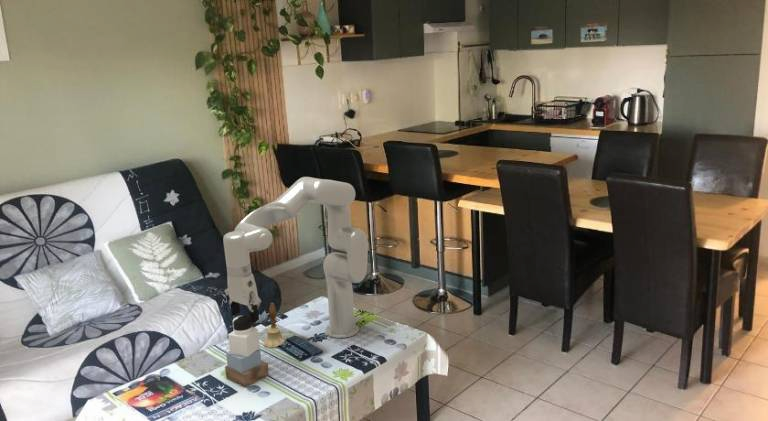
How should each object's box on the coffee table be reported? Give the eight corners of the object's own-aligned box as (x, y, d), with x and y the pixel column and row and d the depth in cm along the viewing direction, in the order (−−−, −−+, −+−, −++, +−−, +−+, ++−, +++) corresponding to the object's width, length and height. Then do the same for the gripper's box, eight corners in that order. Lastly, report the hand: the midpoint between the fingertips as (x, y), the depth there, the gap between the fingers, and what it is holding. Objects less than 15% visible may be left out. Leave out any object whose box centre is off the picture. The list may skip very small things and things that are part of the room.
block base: (249, 368, 228) (248, 354, 227) (268, 376, 222) (267, 363, 220) (226, 379, 220) (224, 366, 219) (245, 388, 214) (244, 375, 213)
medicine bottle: (260, 348, 220) (257, 314, 217) (247, 357, 214) (244, 323, 211) (242, 344, 223) (239, 312, 220) (229, 354, 217) (226, 320, 214)
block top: (247, 357, 225) (245, 343, 224) (261, 364, 220) (260, 350, 219) (227, 366, 219) (226, 352, 218) (241, 373, 214) (240, 359, 213)
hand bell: (270, 337, 250) (267, 298, 246) (289, 339, 248) (286, 300, 244) (259, 346, 243) (255, 306, 239) (279, 349, 240) (276, 309, 236)
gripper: (265, 270, 209) (271, 320, 214) (231, 261, 220) (237, 308, 225) (247, 278, 204) (253, 328, 208) (213, 268, 214) (219, 316, 219)
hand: (245, 318), depth 217 cm, fingers open, 9 cm apart
